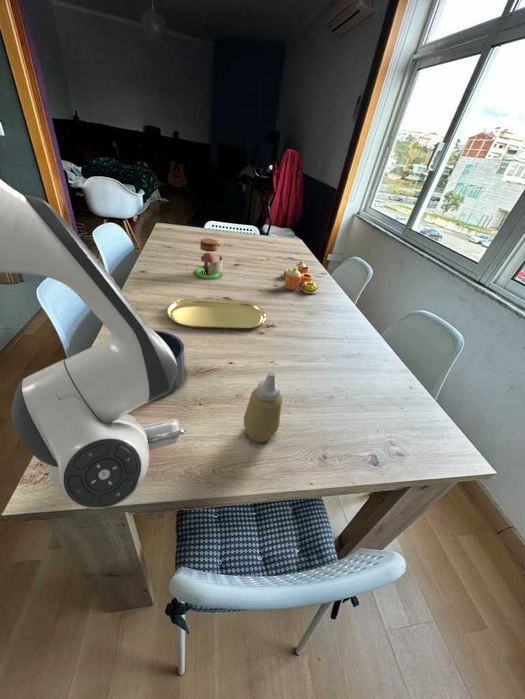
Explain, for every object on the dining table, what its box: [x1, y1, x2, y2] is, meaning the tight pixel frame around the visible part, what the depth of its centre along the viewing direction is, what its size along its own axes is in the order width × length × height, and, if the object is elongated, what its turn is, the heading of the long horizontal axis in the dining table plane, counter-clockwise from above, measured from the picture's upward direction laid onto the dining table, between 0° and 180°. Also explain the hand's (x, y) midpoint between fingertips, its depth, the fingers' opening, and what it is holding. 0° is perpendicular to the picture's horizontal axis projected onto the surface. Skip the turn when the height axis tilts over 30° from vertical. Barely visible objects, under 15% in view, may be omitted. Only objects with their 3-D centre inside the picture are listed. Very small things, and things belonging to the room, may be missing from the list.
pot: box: [152, 329, 186, 399], centre depth 74 cm, size 17×17×9 cm
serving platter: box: [166, 298, 267, 330], centre depth 106 cm, size 19×35×2 cm, turn 99°
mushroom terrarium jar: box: [195, 237, 223, 280], centre depth 130 cm, size 12×13×15 cm
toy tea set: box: [282, 260, 318, 294], centre depth 139 cm, size 26×16×10 cm, turn 2°
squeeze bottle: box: [243, 371, 283, 443], centre depth 62 cm, size 8×8×18 cm
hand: (122, 436), depth 57 cm, fingers open, 6 cm apart
